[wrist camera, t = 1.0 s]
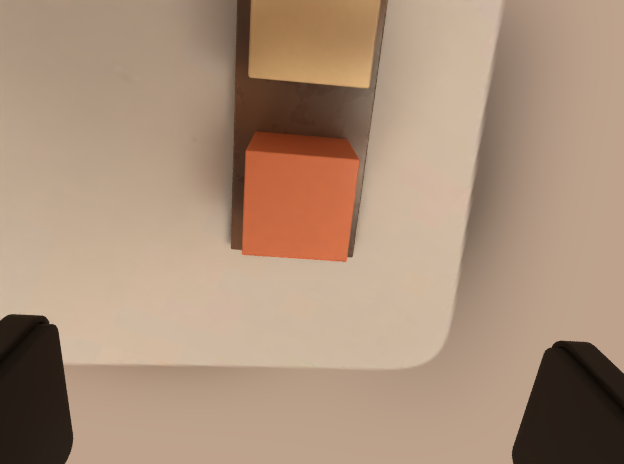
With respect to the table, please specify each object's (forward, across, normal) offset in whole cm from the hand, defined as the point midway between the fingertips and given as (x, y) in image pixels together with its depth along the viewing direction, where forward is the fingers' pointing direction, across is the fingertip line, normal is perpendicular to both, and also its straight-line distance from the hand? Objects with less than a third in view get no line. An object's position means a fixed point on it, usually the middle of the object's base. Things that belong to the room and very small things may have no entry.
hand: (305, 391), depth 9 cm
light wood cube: (+14, 0, -7) cm, 16 cm away
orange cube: (+14, 0, 0) cm, 14 cm away
